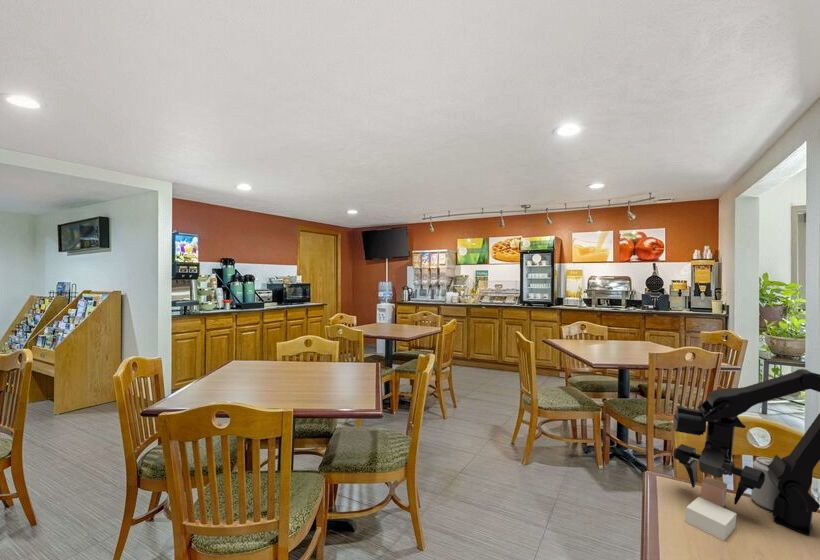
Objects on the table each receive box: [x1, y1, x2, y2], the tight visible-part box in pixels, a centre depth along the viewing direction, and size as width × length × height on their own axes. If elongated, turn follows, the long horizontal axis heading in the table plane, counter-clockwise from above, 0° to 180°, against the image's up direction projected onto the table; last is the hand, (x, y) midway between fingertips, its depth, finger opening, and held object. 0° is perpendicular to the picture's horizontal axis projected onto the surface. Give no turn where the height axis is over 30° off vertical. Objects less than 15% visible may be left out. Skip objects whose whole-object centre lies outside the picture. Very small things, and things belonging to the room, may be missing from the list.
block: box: [700, 476, 728, 508], centre depth 108 cm, size 4×4×6 cm
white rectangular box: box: [684, 496, 737, 541], centre depth 99 cm, size 8×8×4 cm
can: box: [750, 456, 780, 511], centre depth 108 cm, size 8×8×12 cm
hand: (713, 495), depth 107 cm, fingers open, 9 cm apart
